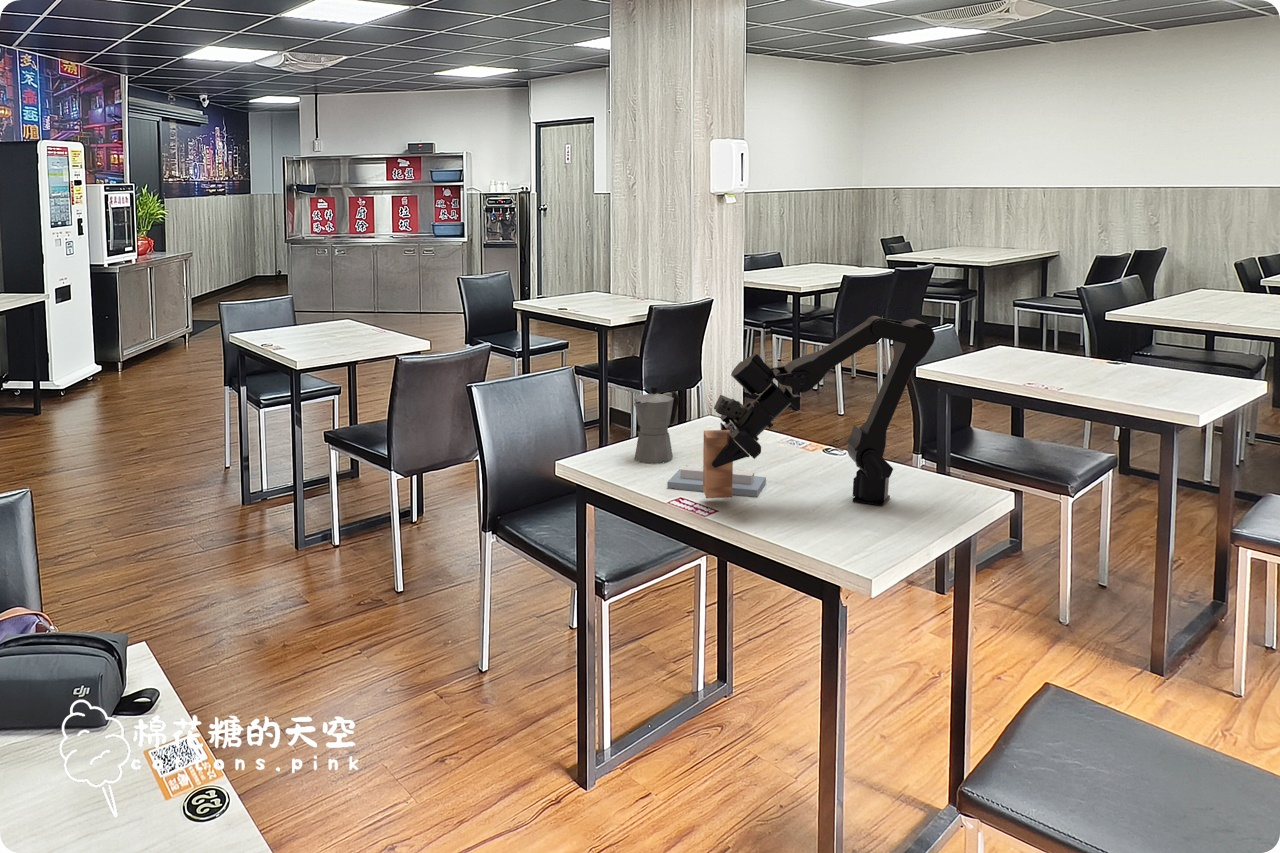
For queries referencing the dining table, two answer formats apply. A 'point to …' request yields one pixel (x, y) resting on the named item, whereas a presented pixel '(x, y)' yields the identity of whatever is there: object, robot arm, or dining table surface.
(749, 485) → the ridge board
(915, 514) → the dining table surface
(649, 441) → the coffeepot
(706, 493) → the cherry block
